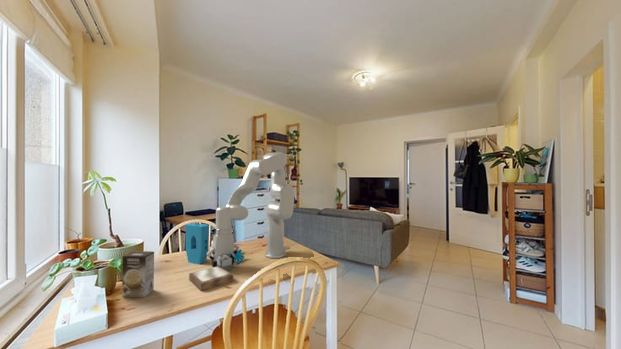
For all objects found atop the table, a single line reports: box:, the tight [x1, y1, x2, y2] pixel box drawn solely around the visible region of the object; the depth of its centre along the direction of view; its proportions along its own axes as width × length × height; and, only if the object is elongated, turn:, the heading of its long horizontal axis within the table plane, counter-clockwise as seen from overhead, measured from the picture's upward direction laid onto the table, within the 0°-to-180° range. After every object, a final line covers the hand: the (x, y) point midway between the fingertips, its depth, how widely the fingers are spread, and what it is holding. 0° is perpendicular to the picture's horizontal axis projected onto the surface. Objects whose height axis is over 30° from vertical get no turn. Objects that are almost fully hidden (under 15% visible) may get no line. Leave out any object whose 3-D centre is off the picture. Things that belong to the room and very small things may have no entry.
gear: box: [227, 247, 246, 264], centre depth 139 cm, size 11×6×10 cm
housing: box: [216, 254, 233, 272], centre depth 127 cm, size 5×8×6 cm, turn 44°
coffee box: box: [121, 250, 155, 298], centre depth 102 cm, size 9×6×16 cm
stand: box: [188, 266, 234, 292], centre depth 114 cm, size 14×14×3 cm
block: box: [185, 222, 210, 265], centre depth 137 cm, size 12×5×20 cm, turn 69°
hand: (223, 266), depth 127 cm, fingers open, 8 cm apart
